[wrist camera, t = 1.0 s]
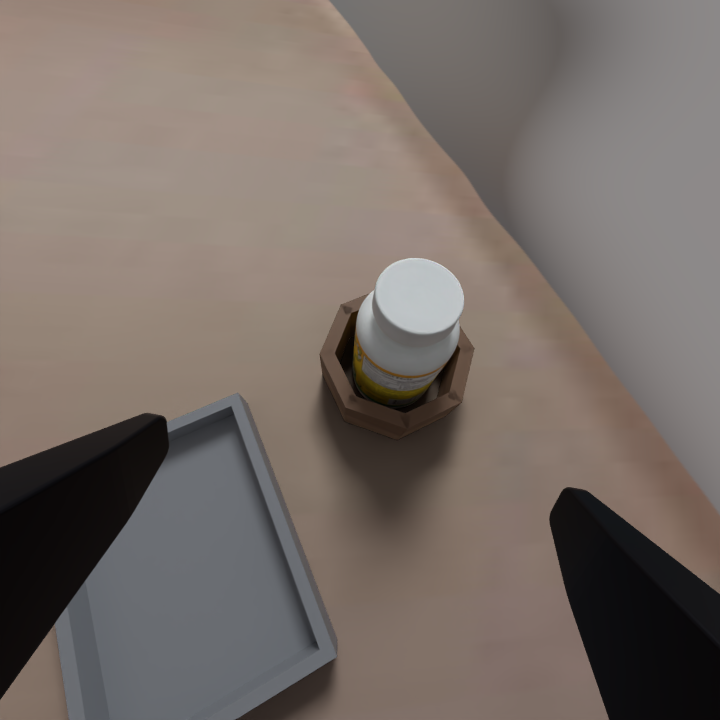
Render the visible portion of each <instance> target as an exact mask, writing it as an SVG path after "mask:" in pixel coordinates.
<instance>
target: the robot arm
mask: <svg viewBox="0 0 720 720" xmlns="http://www.w3.org/2000/svg"><path fill="white" fill-rule="evenodd" d="M168 450H169V437H168V428H167V421H166V418H165V417H164V416H162V415H156V414H151V413H144V414H141V415H138V416H136V417H133V418H130V419H128V420H125V421H122V422H120V423H117V424H114V425H112V426H109V427H107V428H104V429H101V430H99V431H96V432H93V433H91V434H88V435H85V436H83V437H80V438H77V439H75V440H72V441H69V442H67V443H64V444H61V445H59V446H56V447H53V448H51V449H48V450H46V451H43V452H40V453H38V454H35V455H32V456H30V457H27V458H24V459H22V460H19V461H16V462H14V463H11V464H8V465H6V466H3V467H0V699H1V698H2V697H3V695H4V694H5V692H6V691H7V690H8V688H9V687H10V685H11V684H12V683H13V681H14V680H15V678H16V677H17V676H18V674H19V673H20V671H21V670H22V669H23V667H24V666H25V664H26V663H27V662H28V660H29V659H30V658H31V656H32V655H33V653H34V652H35V651H36V649H37V648H38V646H39V645H40V644H41V642H42V641H43V639H44V638H45V637H46V635H47V634H48V632H49V631H50V630H51V628H52V627H53V625H54V624H55V623H56V621H57V620H58V618H59V617H60V616H61V614H62V613H63V611H64V610H65V609H66V607H67V606H68V604H69V603H70V602H71V600H72V599H73V597H74V596H75V595H76V593H77V592H78V590H79V589H80V588H81V586H82V585H83V583H84V582H85V581H86V579H87V578H88V576H89V575H90V574H91V572H92V571H93V569H94V568H95V567H96V565H97V564H98V563H99V561H100V560H101V558H102V557H103V556H104V554H105V553H106V551H107V550H108V549H109V547H110V546H111V544H112V543H113V542H114V540H115V539H116V537H117V536H118V535H119V533H120V532H121V530H122V529H123V528H124V526H125V525H126V523H127V522H128V520H129V519H130V517H131V516H132V514H133V513H134V511H135V509H136V508H137V506H138V504H139V502H140V501H141V499H142V497H143V496H144V494H145V492H146V490H147V489H148V487H149V485H150V483H151V482H152V480H153V478H154V476H155V475H156V473H157V471H158V470H159V468H160V466H161V464H162V463H163V461H164V459H165V457H166V455H167V453H168ZM549 520H550V527H551V531H552V535H553V539H554V544H555V548H556V552H557V556H558V560H559V565H560V569H561V573H562V577H563V581H564V585H565V589H566V593H567V596H568V599H569V603H570V606H571V609H572V612H573V615H574V618H575V621H576V624H577V626H578V629H579V632H580V635H581V638H582V641H583V644H584V647H585V650H586V653H587V656H588V659H589V662H590V665H591V668H592V671H593V673H594V676H595V679H596V682H597V685H598V688H599V691H600V694H601V697H602V700H603V703H604V706H605V709H606V712H607V715H608V718H609V720H720V594H719V593H718V592H716V591H715V590H714V589H712V588H711V587H710V586H709V585H707V584H706V583H705V582H703V581H702V580H701V579H700V578H698V577H697V576H696V575H694V574H693V573H692V572H691V571H689V570H688V569H687V568H686V567H684V566H683V565H682V564H680V563H679V562H678V561H677V560H675V559H674V558H673V557H671V556H670V555H669V554H668V553H666V552H665V551H664V550H662V549H661V548H660V547H659V546H657V545H656V544H655V543H653V542H652V541H651V540H650V539H648V538H647V537H646V536H644V535H643V534H642V533H641V532H639V531H638V530H637V529H635V528H634V527H633V526H632V525H630V524H629V523H628V522H627V521H625V520H624V519H623V518H621V517H620V516H619V515H618V514H616V513H615V512H614V511H612V510H611V509H610V508H609V507H607V506H606V505H605V504H603V503H602V502H601V501H600V500H598V499H597V498H596V497H594V496H593V495H592V494H591V493H589V492H588V491H586V490H583V489H577V488H572V487H567V488H565V489H563V490H562V492H561V494H560V496H559V498H558V499H557V501H556V503H555V505H554V507H553V509H552V510H551V513H550V519H549Z"/></svg>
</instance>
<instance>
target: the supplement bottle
mask: <svg viewBox="0 0 720 720" xmlns="http://www.w3.org/2000/svg"><path fill="white" fill-rule="evenodd" d="M463 307H464V294H463V290H462V288H461V285H460V283H459V282H458V280H457V279H456V277H455V276H454V275H453V274H452V273H451V272H450V271H449V270H447V269H446V268H445V267H443V266H442V265H440V264H438V263H436V262H433V261H430V260H427V259H421V258H409V259H403V260H400V261H397V262H395V263H393V264H391V265H390V266H389V267H387V268H386V269H385V270H384V271H383V272H382V274H381V275H380V276H379V278H378V280H377V283H376V286H375V290H373V291H372V292H371V293H370V294H369V295H368V296H367V297H366V298H365V300H364V301H363V303H362V305H361V307H360V309H359V312H358V315H357V321H356V330H355V341H354V352H353V362H352V371H353V377H354V382H355V385H356V387H357V389H358V390H359V392H360V393H361V394H362V395H363V396H364V397H365V398H366V399H367V400H368V401H371V402H374V403H377V404H380V405H382V406H385V407H388V408H402V407H406V406H408V405H410V404H412V403H414V402H416V401H417V400H418V399H419V398H420V397H421V396H422V395H423V394H424V393H425V392H426V390H427V389H428V387H429V386H430V385H431V383H432V382H433V381H434V379H435V378H436V376H437V375H438V374H439V372H440V371H441V370H442V368H443V367H444V366H445V364H446V363H447V362H448V360H449V359H450V357H451V356H452V354H453V353H454V351H455V349H456V347H457V344H458V340H459V333H460V327H459V318H460V316H461V314H462V311H463Z"/></svg>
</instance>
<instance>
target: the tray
mask: <svg viewBox="0 0 720 720" xmlns="http://www.w3.org/2000/svg"><path fill="white" fill-rule="evenodd" d="M167 428H168V437H169V450H168V453H167V455H166V457H165V459H164V461H163V463H162V464H161V466H160V468H159V470H158V471H157V473H156V475H155V476H154V478H153V480H152V482H151V483H150V485H149V487H148V489H147V490H146V492H145V494H144V496H143V497H142V499H141V501H140V502H139V504H138V506H137V508H136V509H135V511H134V513H133V514H132V516H131V517H130V519H129V520H128V522H127V523H126V525H125V526H124V528H123V529H122V530H121V532H120V533H119V535H118V536H117V537H116V539H115V540H114V542H113V543H112V544H111V546H110V547H109V549H108V550H107V551H106V553H105V554H104V556H103V557H102V558H101V560H100V561H99V563H98V564H97V565H96V567H95V568H94V569H93V571H92V572H91V574H90V575H89V576H88V578H87V579H86V581H85V582H84V583H83V585H82V586H81V588H80V589H79V590H78V592H77V593H76V595H75V596H74V597H73V599H72V600H71V602H70V603H69V604H68V606H67V607H66V609H65V610H64V611H63V613H62V614H61V616H60V617H59V618H58V620H57V621H56V623H55V627H56V634H57V641H58V648H59V655H60V661H61V668H62V675H63V682H64V689H65V696H66V702H67V709H68V716H69V720H236V719H237V718H239V717H241V716H242V715H244V714H245V713H247V712H249V711H250V710H252V709H254V708H255V707H257V706H258V705H260V704H262V703H263V702H265V701H266V700H268V699H270V698H271V697H273V696H275V695H276V694H278V693H279V692H281V691H283V690H284V689H286V688H287V687H289V686H291V685H292V684H294V683H296V682H297V681H299V680H300V679H302V678H304V677H305V676H307V675H308V674H310V673H312V672H313V671H315V670H317V669H318V668H320V667H321V666H323V665H325V664H326V663H328V662H329V661H331V660H333V659H334V658H336V657H337V637H336V635H335V632H334V629H333V627H332V624H331V622H330V619H329V616H328V614H327V611H326V608H325V606H324V603H323V601H322V598H321V595H320V593H319V590H318V587H317V585H316V582H315V580H314V577H313V574H312V572H311V569H310V566H309V564H308V561H307V559H306V556H305V553H304V551H303V548H302V545H301V543H300V540H299V537H298V535H297V532H296V530H295V527H294V524H293V522H292V519H291V516H290V514H289V511H288V509H287V506H286V503H285V501H284V498H283V495H282V493H281V490H280V488H279V485H278V482H277V480H276V477H275V474H274V472H273V469H272V467H271V464H270V461H269V459H268V456H267V453H266V451H265V448H264V445H263V443H262V440H261V438H260V435H259V432H258V430H257V427H256V424H255V422H254V419H253V417H252V414H251V411H250V409H249V406H248V403H247V402H246V401H245V400H244V399H243V398H242V397H241V395H240V394H239V393H236V394H233V395H231V396H229V397H226V398H224V399H221V400H219V401H217V402H214V403H212V404H209V405H207V406H205V407H202V408H200V409H197V410H195V411H193V412H190V413H188V414H186V415H183V416H181V417H178V418H176V419H174V420H171V421H169V422H167Z"/></svg>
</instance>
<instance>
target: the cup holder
mask: <svg viewBox="0 0 720 720" xmlns="http://www.w3.org/2000/svg"><path fill="white" fill-rule="evenodd" d="M368 295H369V294H367V295H364V296H362V297H359V298H357V299H354V300H352V301H349V302H346V303H344V304H341V306H340V308H339V310H338V313H337V315H336V317H335V320H334V322H333V324H332V327H331V329H330V331H329V334H328V336H327V338H326V341H325V343H324V345H323V348H322V350H321V352H320V360H321V368H322V375H323V376H324V378H325V381H326V383H327V385H328V387H329V389H330V391H331V393H332V395H333V398H334V400H335V402H336V404H337V406H338V408H339V410H340V412H341V414H342V417H343V419H344V421H345V422H348V423H351V424H353V425H356V426H359V427H362V428H365V429H368V430H370V431H373V432H376V433H379V434H382V435H384V436H387V437H390V438H393V439H396V440H399V439H401V438H403V437H405V436H407V435H409V434H411V433H413V432H415V431H417V430H419V429H421V428H423V427H425V426H427V425H429V424H431V423H433V422H435V421H437V420H439V419H441V418H443V417H445V416H446V415H447V414H449V413H450V412H451V411H452V410H453V409H454V408H456V407H457V406H458V405H459V404H460V403H462V399H463V394H464V390H465V386H466V382H467V378H468V373H469V369H470V365H471V361H472V357H473V352H474V347H473V346H472V344H471V342H470V341H469V339H468V338H467V336H466V335H465V333H464V332H463V330H462V329H461V327H460V326H459V327H460V333H459V340H458V344H457V347H456V349H455V351H454V353H453V354H452V356H451V357H450V359H449V360H448V362H447V363H446V364H445V366H444V367H443V368H444V374H443V377H442V381H441V385H440V389H439V392H438V396H437V398H436V399H434V400H432V401H430V402H428V403H426V404H424V405H422V406H420V407H418V408H416V409H413V410H411V411H409V412H407V413H403V412H400V411H397V410H394V409H391V408H388V407H385V406H382V405H380V404H377V403H374V402H371V401H368V400H365V399H362V398H360V397H357V396H356V395H355V393H354V391H353V389H352V387H351V385H350V383H349V381H348V379H347V377H346V375H345V373H344V371H343V369H342V367H341V365H340V361H341V358H342V356H343V353H344V351H345V348H346V346H347V343H348V341H349V338H351V337H353V336H355V330H356V321H357V315H358V312H359V309H360V307H361V305H362V303H363V301H364V300H365V298H366V297H367V296H368Z"/></svg>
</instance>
